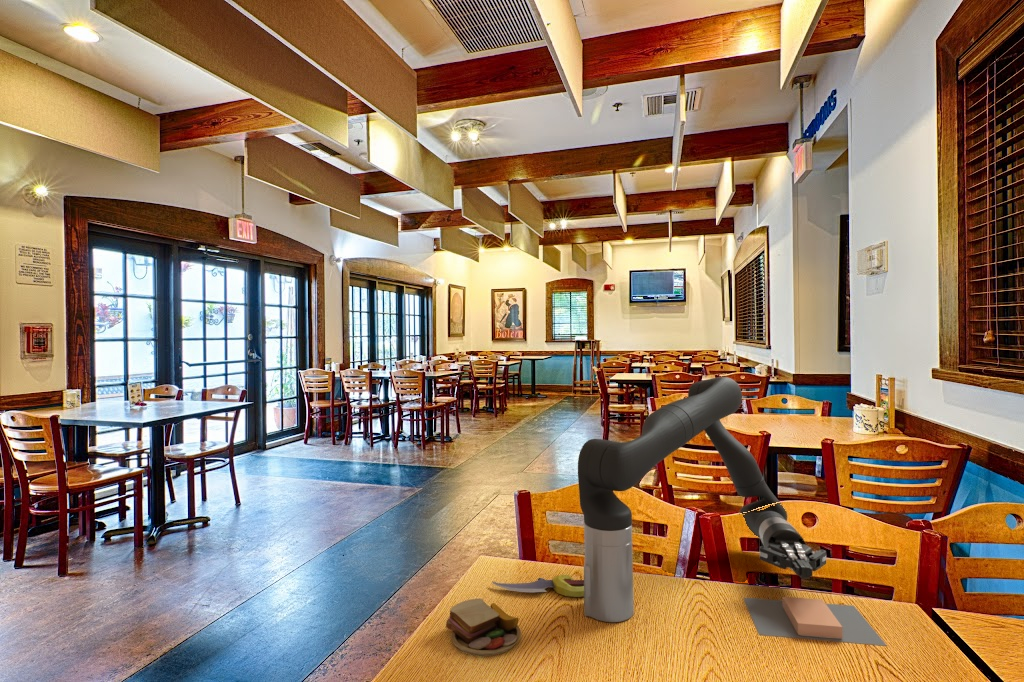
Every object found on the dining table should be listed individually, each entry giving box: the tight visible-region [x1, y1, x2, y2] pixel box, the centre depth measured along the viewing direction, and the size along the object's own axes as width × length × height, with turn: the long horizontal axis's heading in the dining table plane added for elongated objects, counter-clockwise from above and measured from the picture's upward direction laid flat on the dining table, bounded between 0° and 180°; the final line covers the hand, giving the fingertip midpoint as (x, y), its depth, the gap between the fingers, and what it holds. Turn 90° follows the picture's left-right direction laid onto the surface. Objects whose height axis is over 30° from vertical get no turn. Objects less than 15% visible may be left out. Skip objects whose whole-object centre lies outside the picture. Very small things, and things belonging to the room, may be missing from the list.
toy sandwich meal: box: [445, 598, 522, 657], centre depth 99 cm, size 12×14×5 cm
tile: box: [781, 596, 843, 639], centre depth 100 cm, size 7×2×10 cm
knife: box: [491, 574, 584, 598], centre depth 117 cm, size 8×3×25 cm
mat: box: [742, 597, 888, 647], centre depth 101 cm, size 20×14×1 cm
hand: (806, 573), depth 102 cm, fingers closed
